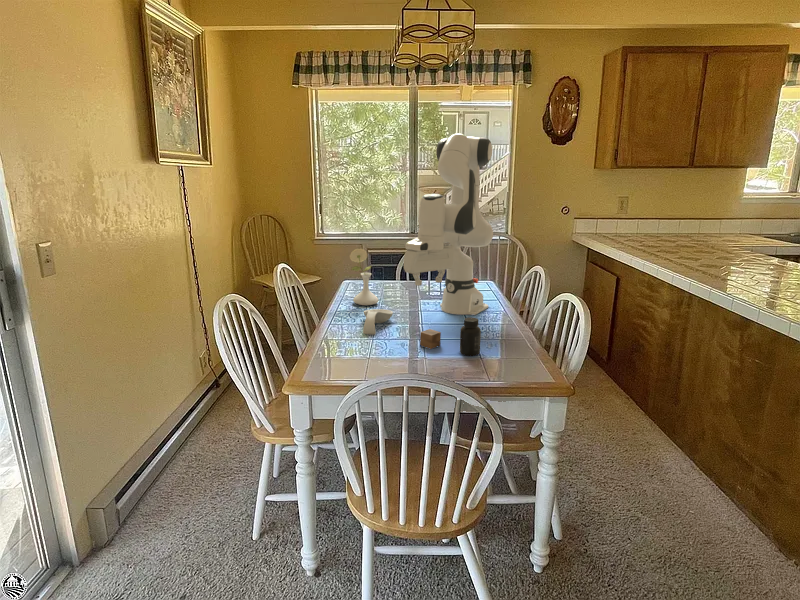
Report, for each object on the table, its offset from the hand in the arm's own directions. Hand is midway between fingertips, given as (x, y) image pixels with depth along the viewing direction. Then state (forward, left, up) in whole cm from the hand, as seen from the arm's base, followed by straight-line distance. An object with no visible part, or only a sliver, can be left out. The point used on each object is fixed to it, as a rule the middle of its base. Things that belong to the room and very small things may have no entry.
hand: (428, 283), depth 172 cm
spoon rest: (-1, -27, -22) cm, 35 cm away
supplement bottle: (-3, +16, -22) cm, 27 cm away
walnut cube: (+1, +2, -22) cm, 22 cm away
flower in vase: (-18, -53, -22) cm, 60 cm away
